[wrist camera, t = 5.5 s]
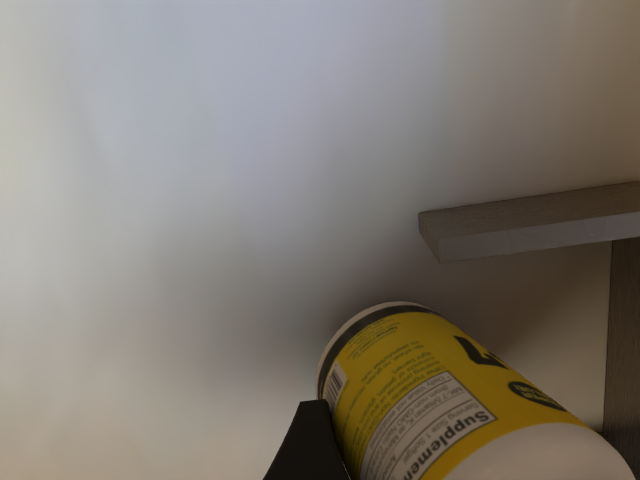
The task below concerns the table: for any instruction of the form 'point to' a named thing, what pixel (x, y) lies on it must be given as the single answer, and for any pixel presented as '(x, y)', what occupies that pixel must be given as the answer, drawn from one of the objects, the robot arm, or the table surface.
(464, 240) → the lockout bracket
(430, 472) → the supplement bottle
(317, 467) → the robot arm
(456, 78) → the table surface
